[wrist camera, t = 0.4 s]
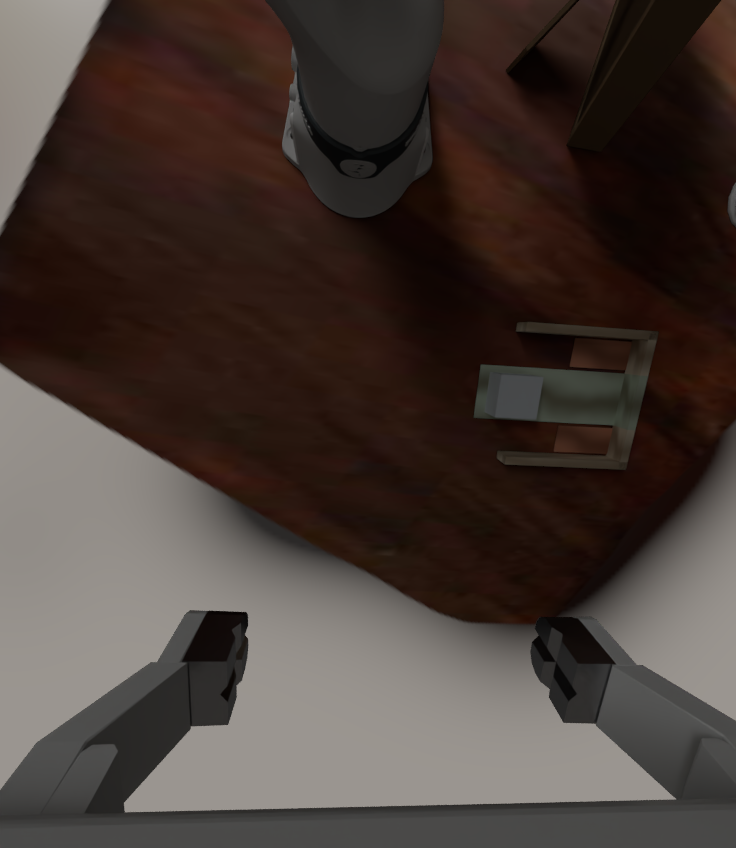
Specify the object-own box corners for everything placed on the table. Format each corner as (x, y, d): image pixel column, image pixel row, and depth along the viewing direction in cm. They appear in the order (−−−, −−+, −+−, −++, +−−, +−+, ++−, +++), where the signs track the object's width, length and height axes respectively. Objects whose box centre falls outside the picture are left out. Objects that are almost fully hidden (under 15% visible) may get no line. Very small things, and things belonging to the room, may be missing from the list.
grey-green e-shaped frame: (486, 320, 52) (495, 319, 49) (641, 332, 53) (658, 331, 50) (468, 456, 56) (475, 463, 53) (611, 463, 58) (625, 469, 55)
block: (490, 371, 53) (501, 374, 49) (529, 374, 54) (543, 377, 50) (484, 411, 55) (495, 417, 51) (522, 414, 55) (536, 419, 51)
